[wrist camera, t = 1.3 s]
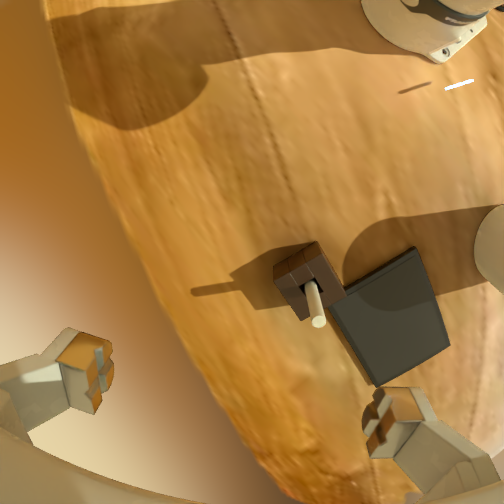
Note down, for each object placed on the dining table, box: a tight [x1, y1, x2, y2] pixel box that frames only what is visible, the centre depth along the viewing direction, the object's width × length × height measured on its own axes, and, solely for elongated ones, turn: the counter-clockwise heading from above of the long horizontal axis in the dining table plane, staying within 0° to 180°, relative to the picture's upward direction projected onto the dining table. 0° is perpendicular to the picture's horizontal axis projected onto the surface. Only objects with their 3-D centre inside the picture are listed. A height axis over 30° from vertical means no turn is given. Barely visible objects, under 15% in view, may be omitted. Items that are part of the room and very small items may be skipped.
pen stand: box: [273, 241, 347, 321], centre depth 44 cm, size 7×7×5 cm
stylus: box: [304, 278, 326, 328], centre depth 40 cm, size 2×2×13 cm
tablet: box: [328, 246, 450, 388], centre depth 48 cm, size 16×22×1 cm
